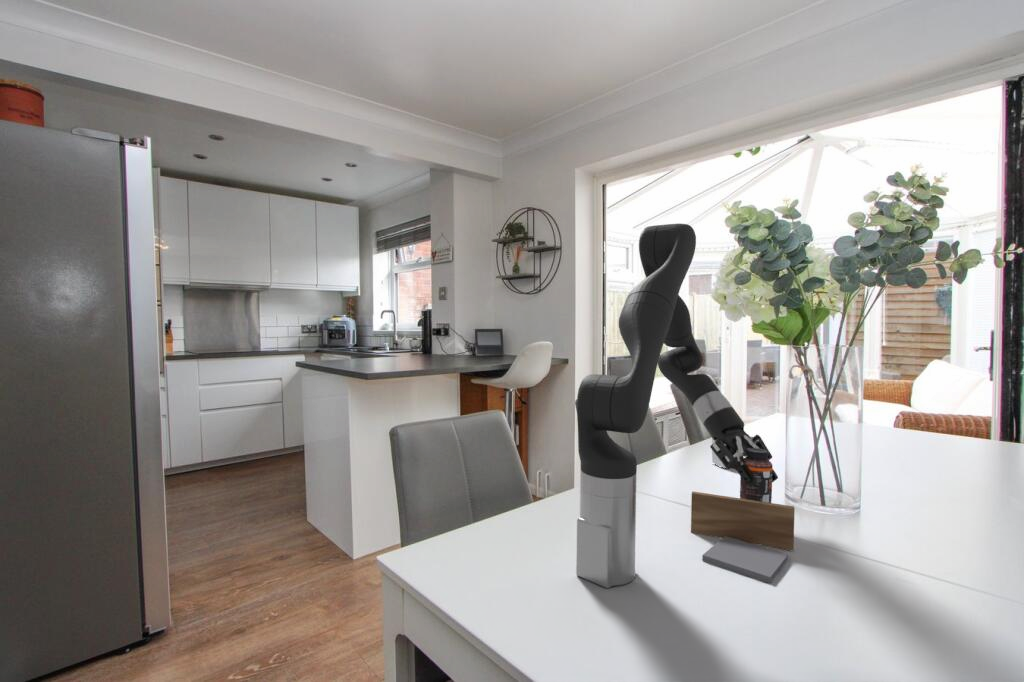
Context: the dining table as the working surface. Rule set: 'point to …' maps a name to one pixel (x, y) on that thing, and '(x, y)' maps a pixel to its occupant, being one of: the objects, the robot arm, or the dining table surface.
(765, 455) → the supplement bottle
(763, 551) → the charcoal pad
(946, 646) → the dining table surface
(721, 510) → the walnut screen
